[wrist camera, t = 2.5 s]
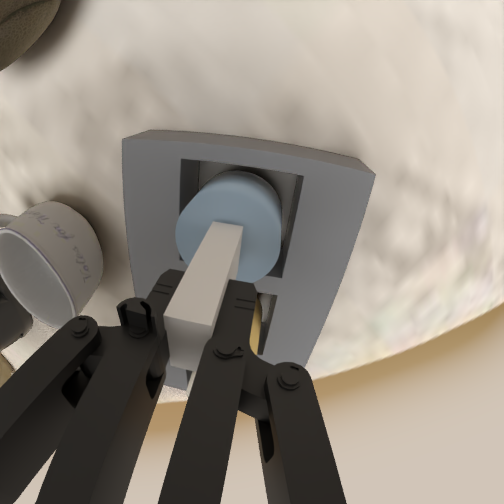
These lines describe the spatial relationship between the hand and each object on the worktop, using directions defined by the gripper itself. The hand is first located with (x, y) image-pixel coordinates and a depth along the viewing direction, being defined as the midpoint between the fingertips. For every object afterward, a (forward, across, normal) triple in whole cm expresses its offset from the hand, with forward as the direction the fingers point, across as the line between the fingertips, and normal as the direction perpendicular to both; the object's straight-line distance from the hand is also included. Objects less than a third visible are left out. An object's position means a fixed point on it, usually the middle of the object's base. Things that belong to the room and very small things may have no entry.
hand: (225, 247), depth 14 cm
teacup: (+7, -18, -6) cm, 20 cm away
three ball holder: (+7, 0, -8) cm, 11 cm away
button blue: (+5, 0, 0) cm, 5 cm away
